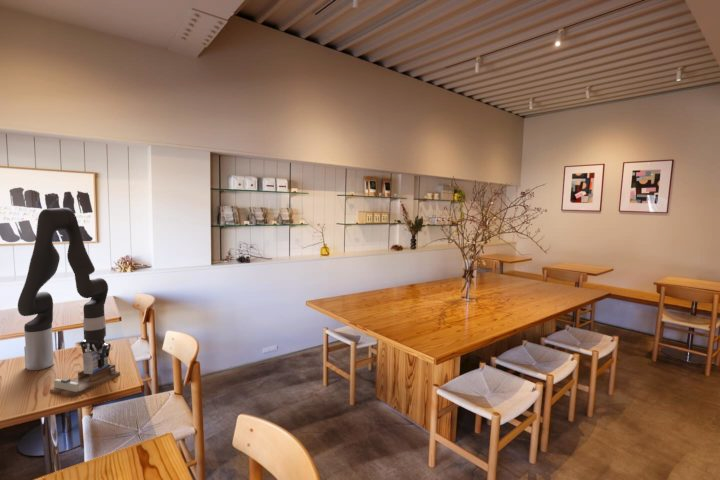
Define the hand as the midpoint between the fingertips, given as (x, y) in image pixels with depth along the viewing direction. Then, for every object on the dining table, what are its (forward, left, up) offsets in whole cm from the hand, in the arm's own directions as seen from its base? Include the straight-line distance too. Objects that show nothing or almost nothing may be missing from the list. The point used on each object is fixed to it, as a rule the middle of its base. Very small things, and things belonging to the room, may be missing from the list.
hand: (96, 366), depth 157 cm
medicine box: (0, 0, -2) cm, 2 cm away
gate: (0, -13, -4) cm, 13 cm away
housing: (0, -4, -5) cm, 7 cm away
